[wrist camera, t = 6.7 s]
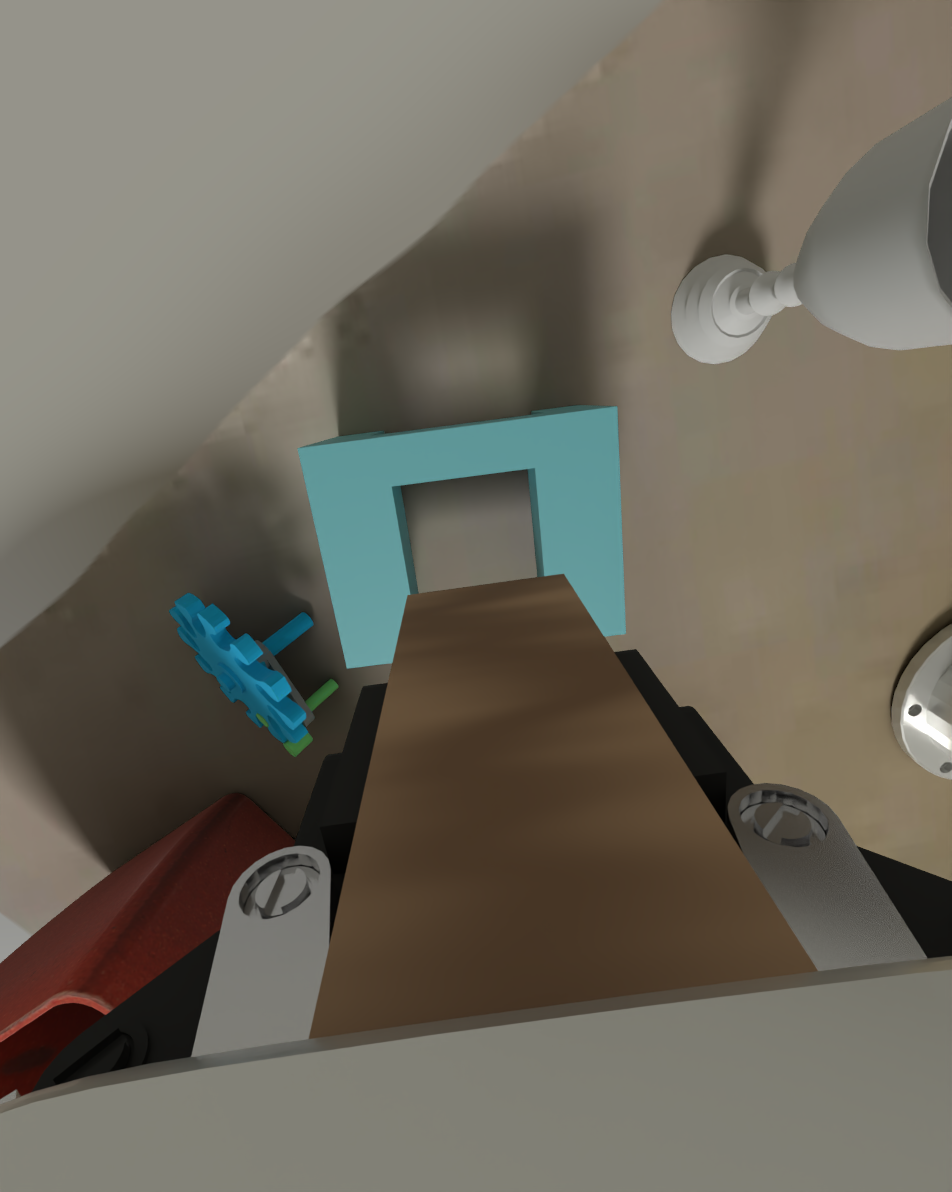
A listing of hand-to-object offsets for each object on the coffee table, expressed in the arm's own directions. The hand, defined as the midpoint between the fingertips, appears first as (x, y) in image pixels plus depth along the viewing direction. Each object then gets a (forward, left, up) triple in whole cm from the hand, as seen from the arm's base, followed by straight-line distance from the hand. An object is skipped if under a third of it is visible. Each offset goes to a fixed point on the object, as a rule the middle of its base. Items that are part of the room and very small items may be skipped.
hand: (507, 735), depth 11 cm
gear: (+14, +6, -22) cm, 27 cm away
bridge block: (0, 0, -22) cm, 22 cm away
